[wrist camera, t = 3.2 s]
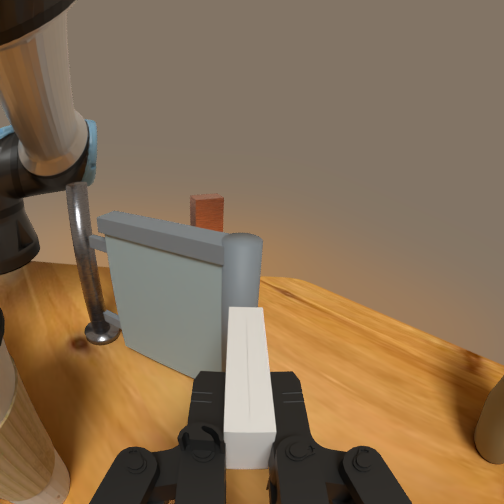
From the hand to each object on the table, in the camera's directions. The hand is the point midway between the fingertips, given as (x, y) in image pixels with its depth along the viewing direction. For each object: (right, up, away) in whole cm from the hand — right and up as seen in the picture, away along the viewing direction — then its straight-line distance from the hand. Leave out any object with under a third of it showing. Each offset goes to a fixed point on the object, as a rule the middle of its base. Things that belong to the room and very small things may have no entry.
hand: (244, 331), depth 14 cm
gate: (-7, -7, +12) cm, 15 cm away
